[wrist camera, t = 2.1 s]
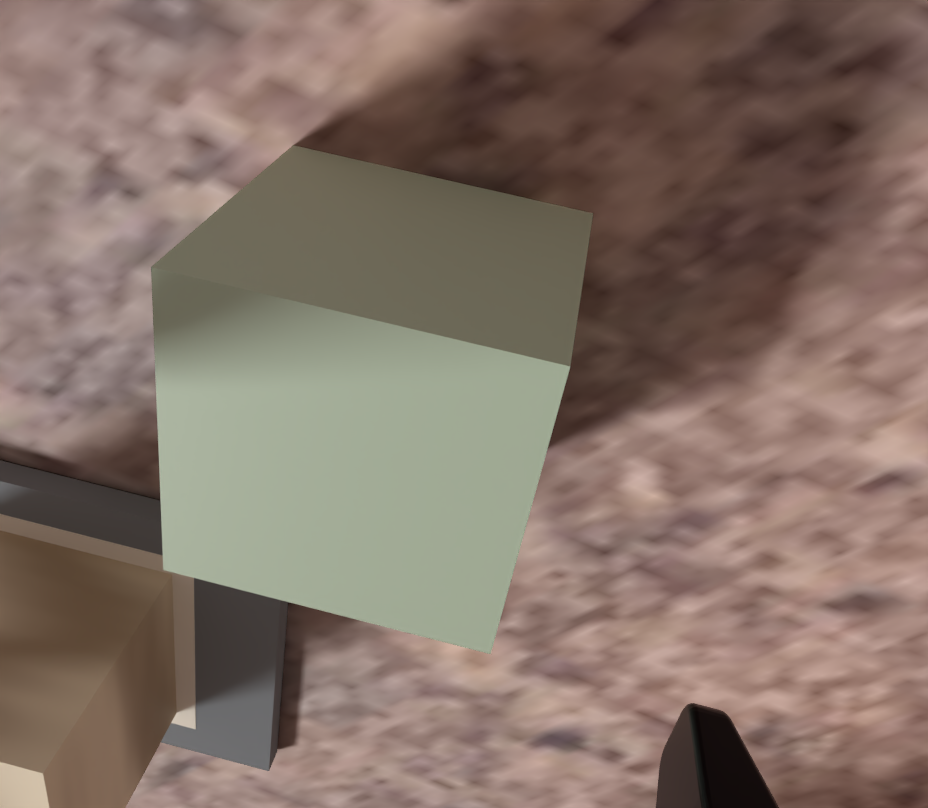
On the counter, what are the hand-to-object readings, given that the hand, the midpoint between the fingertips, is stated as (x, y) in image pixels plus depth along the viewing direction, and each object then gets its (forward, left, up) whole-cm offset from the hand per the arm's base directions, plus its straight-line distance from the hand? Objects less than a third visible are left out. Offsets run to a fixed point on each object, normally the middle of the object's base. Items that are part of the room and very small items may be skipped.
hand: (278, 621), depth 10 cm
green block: (0, 0, -7) cm, 7 cm away
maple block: (+7, +10, -7) cm, 14 cm away
